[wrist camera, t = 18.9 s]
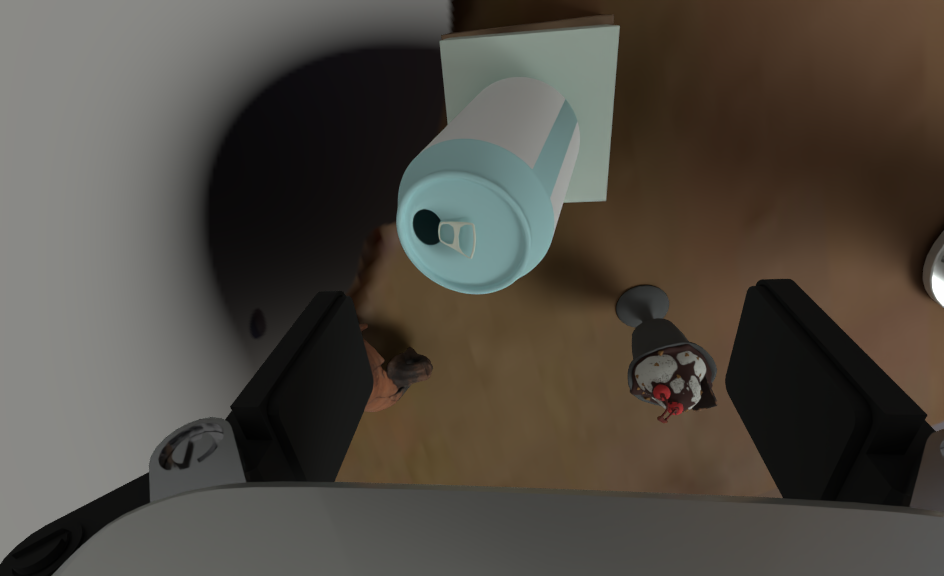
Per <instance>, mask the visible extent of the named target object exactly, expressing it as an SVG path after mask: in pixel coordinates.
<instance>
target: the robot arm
mask: <svg viewBox="0 0 944 576" xmlns="http://www.w3.org/2000/svg"><path fill="white" fill-rule="evenodd" d="M923 283H924V286H925V290H926V291H927V293H928V294H929V296H930V297H931V299H933V300H934V301H935V302H936V303H938V304H939V305H940V306H942V307H943V308H944V231H943V232H942V233H941V235H940V236H939V237H938V239H937V240H936V241H935V242H934V244H933V246H932V248H931V249H930V251H929V253H928V255H927V257H926V261H925V264H924V267H923ZM725 383H726V389H727V392H728V394H729V396H730V398H731V400H732V402H733V404H734V406H735V408H736V410H737V412H738V413H739V415H740V417H741V419H742V421H743V423H744V425H745V427H746V429H747V430H748V432H749V434H750V436H751V438H752V440H753V442H754V444H755V446H756V448H757V449H758V451H759V453H760V455H761V457H762V459H763V461H764V463H765V465H766V466H767V468H768V470H769V472H770V474H771V476H772V478H773V480H774V482H775V484H776V485H777V487H778V489H779V491H780V493H781V494H782V497H783V498H768V497H747V496H723V495H699V494H675V493H651V492H627V491H600V490H573V489H546V488H517V487H489V486H459V485H426V484H393V483H360V482H334V481H335V479H336V476H337V474H338V472H339V469H340V467H341V464H342V462H343V460H344V457H345V455H346V453H347V450H348V448H349V445H350V443H351V441H352V438H353V436H354V433H355V431H356V429H357V426H358V424H359V421H360V419H361V417H362V414H363V412H364V410H365V407H366V405H367V402H368V400H369V398H370V395H371V393H372V390H373V385H374V379H373V374H372V370H371V367H370V363H369V359H368V355H367V352H366V348H365V344H364V341H363V337H362V333H361V330H360V326H359V322H358V319H357V315H356V311H355V308H354V304H353V301H352V299H351V297H349V296H346V295H345V294H344V292H342V291H321V292H318V293H317V294H316V296H315V297H314V298H313V299H312V301H311V302H310V304H309V305H308V306H307V307H306V308H305V310H304V311H303V312H302V314H301V315H300V316H299V318H298V319H297V320H296V322H295V323H294V324H293V325H292V327H291V328H290V330H289V331H288V332H287V333H286V335H285V336H284V337H283V338H282V340H281V341H280V343H279V344H278V345H277V346H276V348H275V349H274V350H273V352H272V353H271V354H270V355H269V357H268V358H267V360H266V361H265V362H264V363H263V365H262V366H261V367H260V368H259V370H258V371H257V372H256V374H255V375H254V377H253V378H252V379H251V380H250V382H249V383H248V384H247V385H246V387H245V388H244V390H243V391H242V392H241V393H240V395H239V396H238V397H237V399H236V400H235V401H234V403H233V404H232V405H231V406H230V407H231V409H232V411H231V413H230V414H229V415H228V417H227V418H226V419H225V420H224V419H222V418H216V417H210V418H203V419H199V420H196V421H193V422H191V423H188V424H186V425H184V426H182V427H180V428H178V429H176V430H175V431H174V432H172V433H171V434H170V435H168V436H167V437H166V438H165V439H164V440H163V441H162V442H161V443H160V444H159V445H158V446H157V447H156V449H155V450H154V452H153V454H152V455H151V458H150V463H149V473H146V474H144V475H143V476H141V477H139V478H137V479H135V480H133V481H131V482H129V483H127V484H125V485H123V486H121V487H119V488H117V489H115V490H114V491H112V492H110V493H108V494H106V495H104V496H102V497H100V498H98V499H96V500H94V501H92V502H90V503H88V504H86V505H84V506H83V507H81V508H79V509H77V510H75V511H73V512H71V513H69V514H67V515H65V516H63V517H61V518H59V519H57V520H55V521H54V522H52V523H50V524H48V525H46V526H44V527H43V528H41V529H39V530H38V531H36V532H34V533H33V534H31V535H30V536H29V537H27V538H26V539H25V540H24V541H22V542H21V543H20V544H19V545H17V546H16V547H15V548H14V549H13V550H12V551H11V552H10V553H9V554H8V555H7V556H6V557H5V558H4V560H3V561H2V563H1V564H0V576H944V429H942V430H939V431H937V432H936V431H935V430H934V429H933V428H932V427H931V426H930V425H929V424H928V423H927V422H926V421H925V418H926V417H927V414H926V413H925V412H924V411H923V410H922V409H921V408H920V407H919V406H918V405H917V404H916V403H915V402H914V401H913V400H912V399H911V398H910V397H909V396H908V395H907V394H906V393H905V392H904V391H903V390H902V389H901V388H900V387H899V386H898V385H897V384H896V383H895V382H894V381H893V380H892V379H891V378H890V377H889V376H888V375H887V374H886V373H885V372H884V371H883V370H882V369H881V368H880V367H879V366H878V365H877V364H876V363H875V362H874V361H873V360H872V359H871V358H870V357H869V356H868V355H867V354H866V353H865V352H864V351H863V350H862V349H861V348H860V347H859V346H858V345H857V344H856V343H855V342H854V341H853V340H852V339H851V338H850V337H849V336H848V335H847V334H846V333H845V332H844V331H843V330H842V329H841V328H840V327H839V326H838V325H837V324H836V323H835V322H834V321H833V320H832V319H831V318H830V317H829V316H828V315H827V314H826V313H825V312H824V311H823V310H822V309H821V308H820V307H819V306H818V305H817V304H816V303H815V302H814V301H813V300H812V299H811V298H810V297H809V296H808V295H807V294H806V293H805V292H804V291H803V290H802V289H801V288H800V287H799V286H798V285H797V284H796V283H795V282H794V281H793V280H791V279H765V280H760V281H758V282H757V284H756V286H751V287H749V289H748V291H747V294H746V298H745V302H744V306H743V310H742V314H741V318H740V322H739V326H738V330H737V334H736V338H735V342H734V346H733V350H732V354H731V358H730V362H729V366H728V370H727V374H726V379H725Z"/></svg>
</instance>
